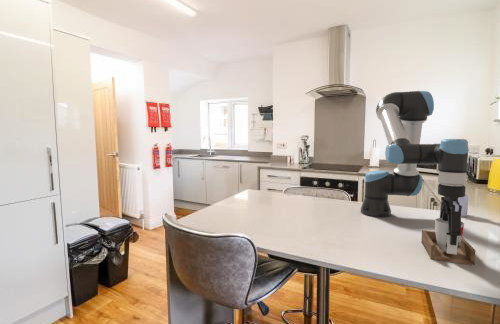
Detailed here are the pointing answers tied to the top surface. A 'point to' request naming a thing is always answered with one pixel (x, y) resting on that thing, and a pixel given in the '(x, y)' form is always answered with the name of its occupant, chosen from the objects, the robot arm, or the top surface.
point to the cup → (441, 231)
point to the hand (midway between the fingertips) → (448, 248)
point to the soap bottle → (463, 205)
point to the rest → (431, 246)
